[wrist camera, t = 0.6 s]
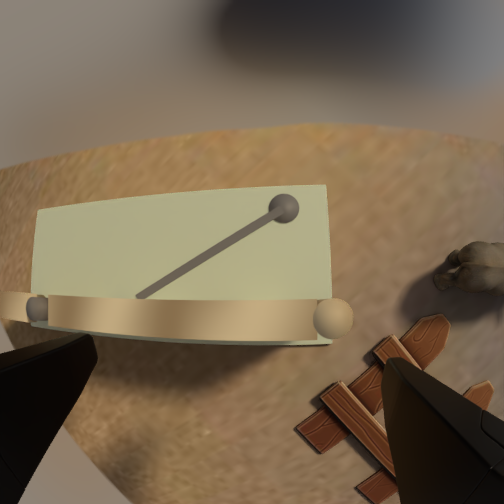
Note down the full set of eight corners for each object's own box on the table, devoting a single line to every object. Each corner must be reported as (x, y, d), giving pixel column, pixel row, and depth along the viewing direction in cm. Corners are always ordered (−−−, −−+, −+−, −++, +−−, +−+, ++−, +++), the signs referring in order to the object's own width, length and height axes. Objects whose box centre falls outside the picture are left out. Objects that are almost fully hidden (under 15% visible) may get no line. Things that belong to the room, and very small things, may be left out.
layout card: (33, 325, 27) (30, 326, 27) (40, 210, 29) (37, 209, 29) (331, 343, 23) (332, 343, 23) (325, 186, 25) (326, 184, 25)
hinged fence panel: (128, 320, 25) (48, 325, 15) (128, 299, 25) (48, 294, 15) (328, 323, 23) (353, 338, 13) (328, 299, 23) (353, 297, 13)
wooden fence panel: (36, 311, 27) (-45, 308, 16) (36, 294, 27) (-44, 286, 16) (127, 320, 25) (40, 325, 15) (127, 299, 26) (40, 293, 15)
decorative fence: (417, 536, 19) (521, 443, 19) (421, 545, 17) (529, 448, 17) (287, 415, 24) (423, 295, 24) (287, 422, 22) (431, 294, 22)
